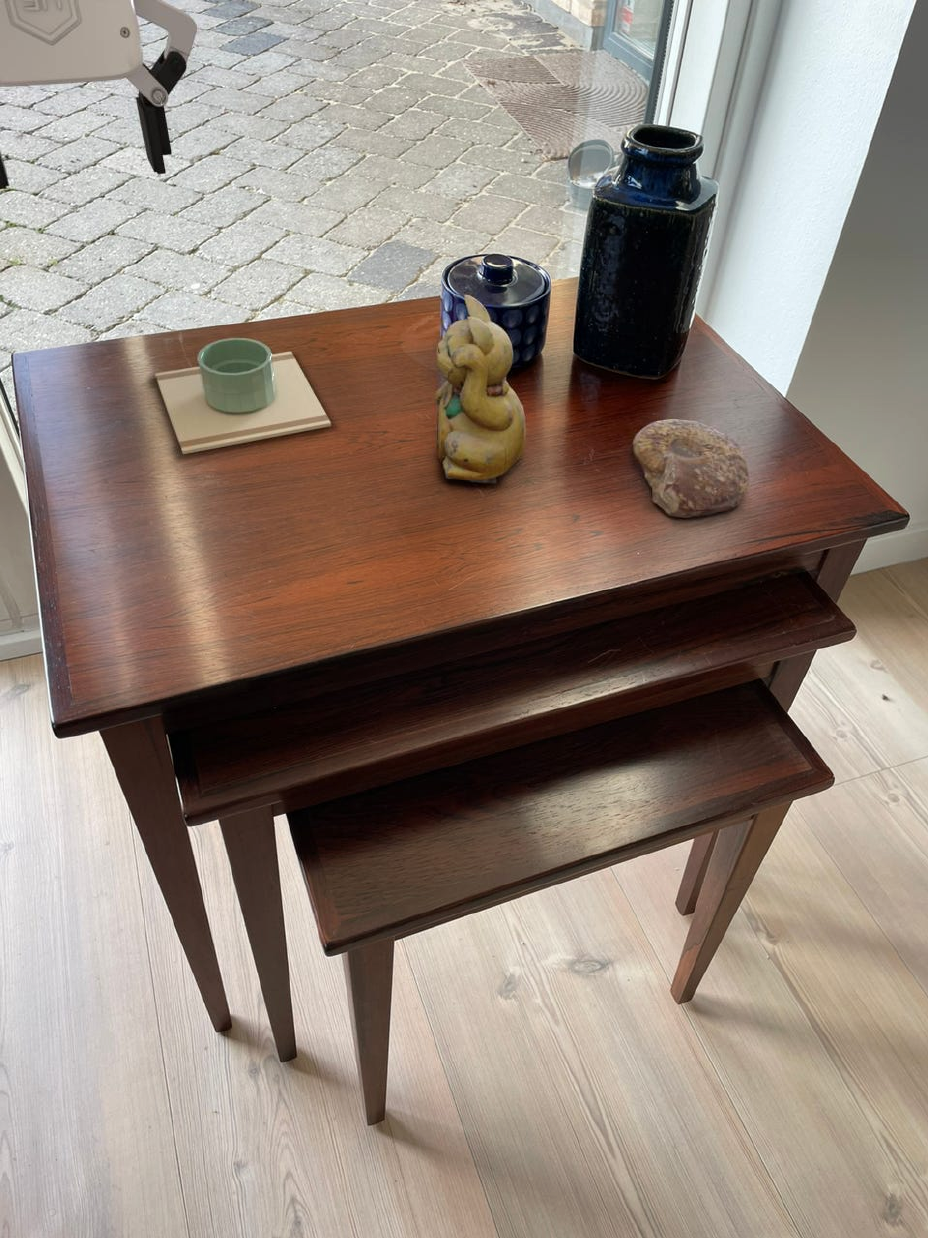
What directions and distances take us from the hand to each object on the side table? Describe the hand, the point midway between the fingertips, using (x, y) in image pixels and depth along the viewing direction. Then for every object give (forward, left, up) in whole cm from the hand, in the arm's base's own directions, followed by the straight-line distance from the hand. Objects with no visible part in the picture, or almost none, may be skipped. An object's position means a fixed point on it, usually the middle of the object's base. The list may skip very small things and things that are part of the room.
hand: (81, 173), depth 58 cm
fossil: (+45, -14, -26) cm, 54 cm away
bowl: (+10, +12, -26) cm, 30 cm away
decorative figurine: (+28, -5, -26) cm, 39 cm away
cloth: (+10, +12, -26) cm, 31 cm away
